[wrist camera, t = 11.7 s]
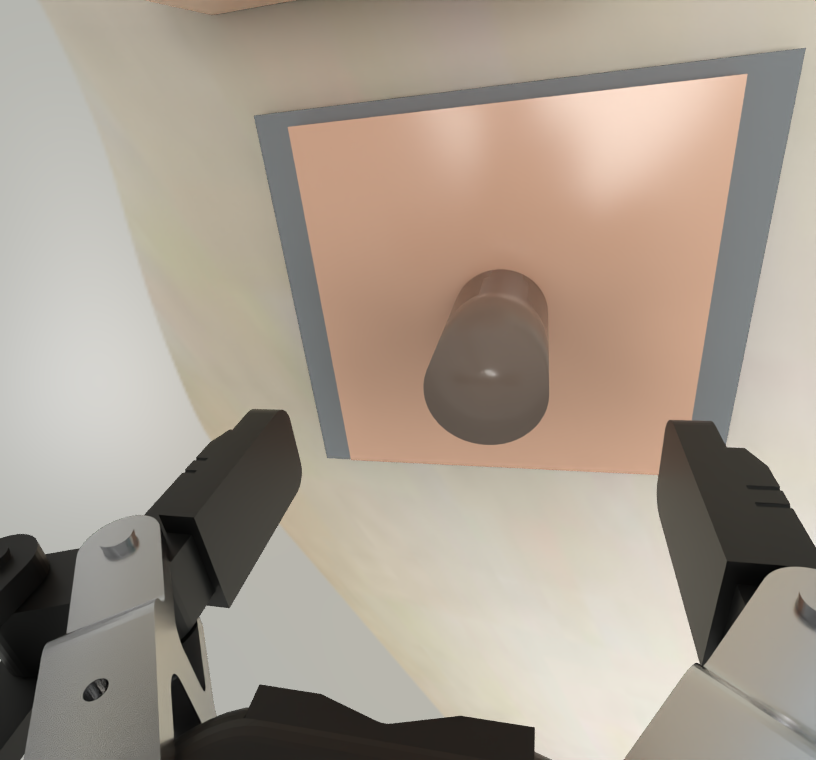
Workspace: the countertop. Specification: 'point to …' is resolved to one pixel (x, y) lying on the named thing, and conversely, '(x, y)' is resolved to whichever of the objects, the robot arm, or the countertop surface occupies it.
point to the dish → (217, 5)
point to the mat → (758, 128)
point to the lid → (521, 272)
